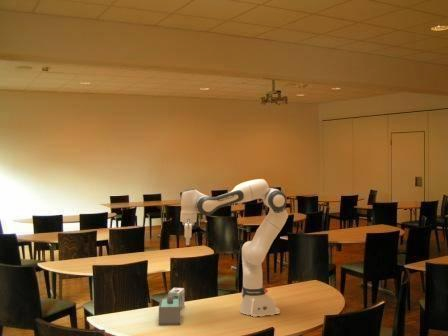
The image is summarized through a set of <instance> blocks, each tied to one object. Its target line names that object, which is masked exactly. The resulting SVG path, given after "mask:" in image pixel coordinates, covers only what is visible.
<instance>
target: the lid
mask: <svg viewBox="0 0 448 336" xmlns="http://www.w3.org/2000/svg"><path fill="white" fill-rule="evenodd" d="M161 299H162V303H161V307H179V299H173V296H171V295H170V296H169V295H167V296H166V298H161Z"/></svg>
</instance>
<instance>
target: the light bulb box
mask: <svg viewBox="0 0 448 336" xmlns="http://www.w3.org/2000/svg"><path fill="white" fill-rule="evenodd" d="M167 295H168V296H170V295H171V296H173V299H181V310H183V309H184V307H185V288H184V287H173V288H171V290H169V292H168V293H167Z"/></svg>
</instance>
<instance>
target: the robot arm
mask: <svg viewBox="0 0 448 336" xmlns="http://www.w3.org/2000/svg"><path fill="white" fill-rule="evenodd" d="M257 199H260V200H261V202H262V203H263V204H264V205H265V206H266V207H267V208H269V211H268V213H267V215H266V216H265V217H264V219H263V221H261V223H260V225H259V227H258V228H257V229H256V231H255V234H254V236H253V237H252V240H248V241H246V242H244V244H243V245H242V247H241V261H242V262H241V264H242V286H241V297H242V300H241V304H240V305H241V306H240V310H239V312H240V313H241V314H243V315H245V314H246V316H250V315H251V316H250V317H252V316H253V317H254V318H258V317H257V316H260V317H266V316H265V315H271V316H274V315H273V314H278V313H280V314H281V310H280V308H279V307H277V304H276V301H275V299H273V297H272V296H270V295H269V294H267V293H268V292H269V291H268V289H267V288H266V287H265V286H263V276H264V275H263V267H262V263H264V261H265V259H266V257H267V254H268V252H269V250H270V248H271V246H272V244H273V242H274V240H275V239H276V238H277V236H278V234H279V233H280V232H281V231H282V229H283V227H284V226H285V224H286V222H287V221H288V220H287V219H288V218H289V213H288V210H286V205H287V202H288V199H287V196H286V194H285V193H284V192H283V191H281V190H279V189H278V188H272V187H269V184H268V182H267V181H266V180H265V179H264V178H257V179H251V180H247V181H243V182H241V183H239V184H237V185H235V186H234V188H233V189H231V191H229V192H226V193H224V194H221V195H218V196H209V195H207V194H204V193H202V192H200V191H198V190H197V189H196V188H189V189H188V188H187V189H184V190H183V191H182V193H181V197H180V208H181V209H180V220H179V221H180V222H182V225H183V227H184V238H185V245H186V246H189V245H190V241H191V238H192V230H193V226H194V225H195V223H196V222H197V214H198V213H199V214H201V215H203V216H211V215H212V214H214V213H215V212H216V211H217V210H218V209H221V208H224V207H227V206H230V205H233V204H239V203H247V202H251V201H255V200H257ZM197 212H198V213H197Z"/></svg>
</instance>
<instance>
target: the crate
mask: <svg viewBox="0 0 448 336" xmlns="http://www.w3.org/2000/svg"><path fill="white" fill-rule="evenodd" d="M162 299H163V298H160V301H159V305H158V326H179V325H181V314H182V313H181V311H182V309H181V299H179V307H161V303H162Z"/></svg>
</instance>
